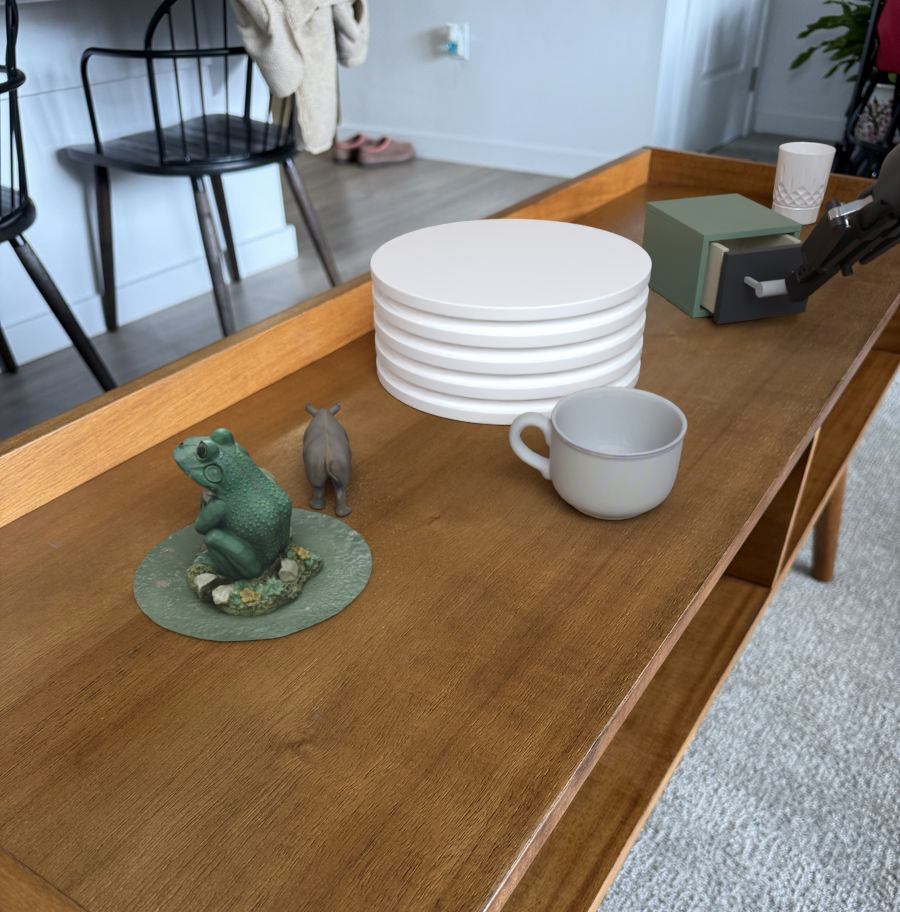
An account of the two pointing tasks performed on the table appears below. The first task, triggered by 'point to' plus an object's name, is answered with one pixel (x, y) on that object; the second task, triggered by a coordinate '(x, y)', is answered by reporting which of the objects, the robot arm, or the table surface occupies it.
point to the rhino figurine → (327, 457)
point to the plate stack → (507, 316)
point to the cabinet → (700, 240)
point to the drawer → (751, 277)
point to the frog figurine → (247, 555)
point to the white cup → (801, 180)
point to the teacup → (608, 449)
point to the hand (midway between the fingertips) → (793, 290)
